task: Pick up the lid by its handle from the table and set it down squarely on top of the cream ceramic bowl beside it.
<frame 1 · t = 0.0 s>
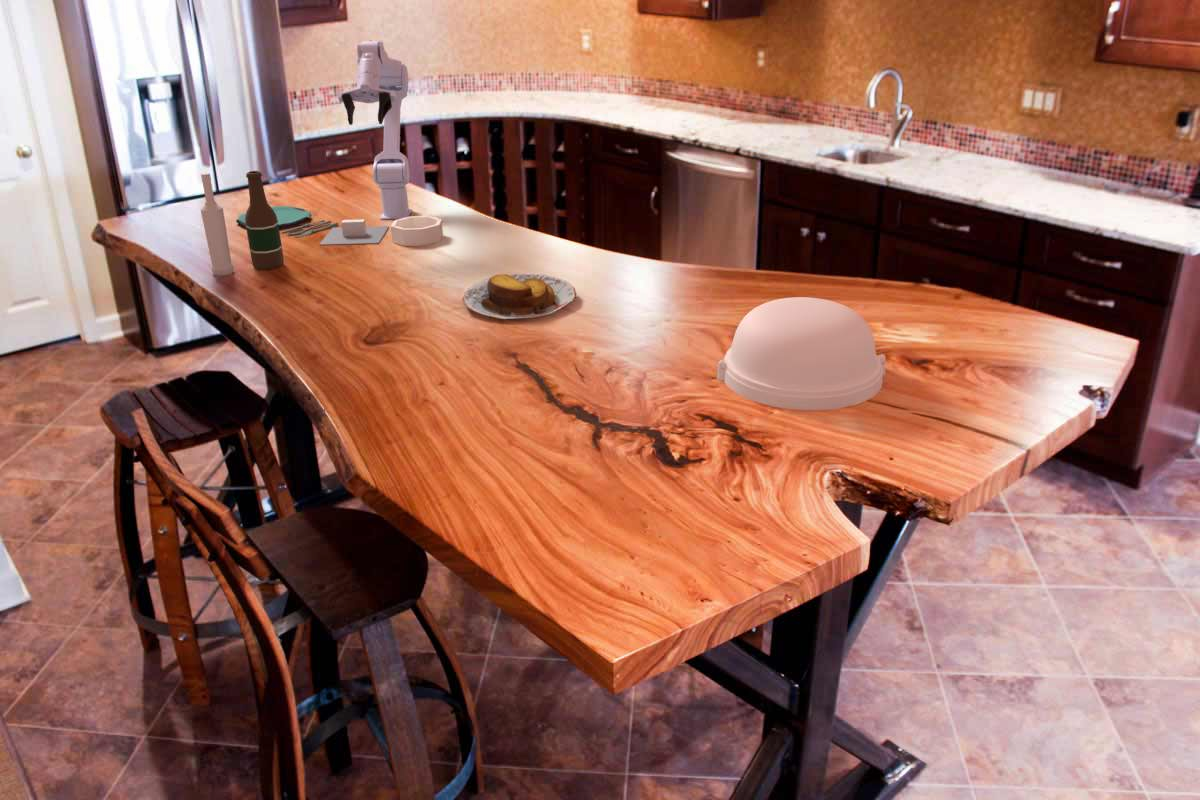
hand: (365, 122, 271), 32 cm above the table, tool tilted 50°, fingers open, 7 cm apart
food on plate: (520, 305, 240), on the table
cutlery set: (285, 226, 304), on the table
dome cover: (801, 377, 200), on the table
beer bottle: (268, 266, 269), on the table
bowl: (418, 238, 288), on the table
lid: (355, 238, 292), on the table
bottle: (223, 273, 264), on the table
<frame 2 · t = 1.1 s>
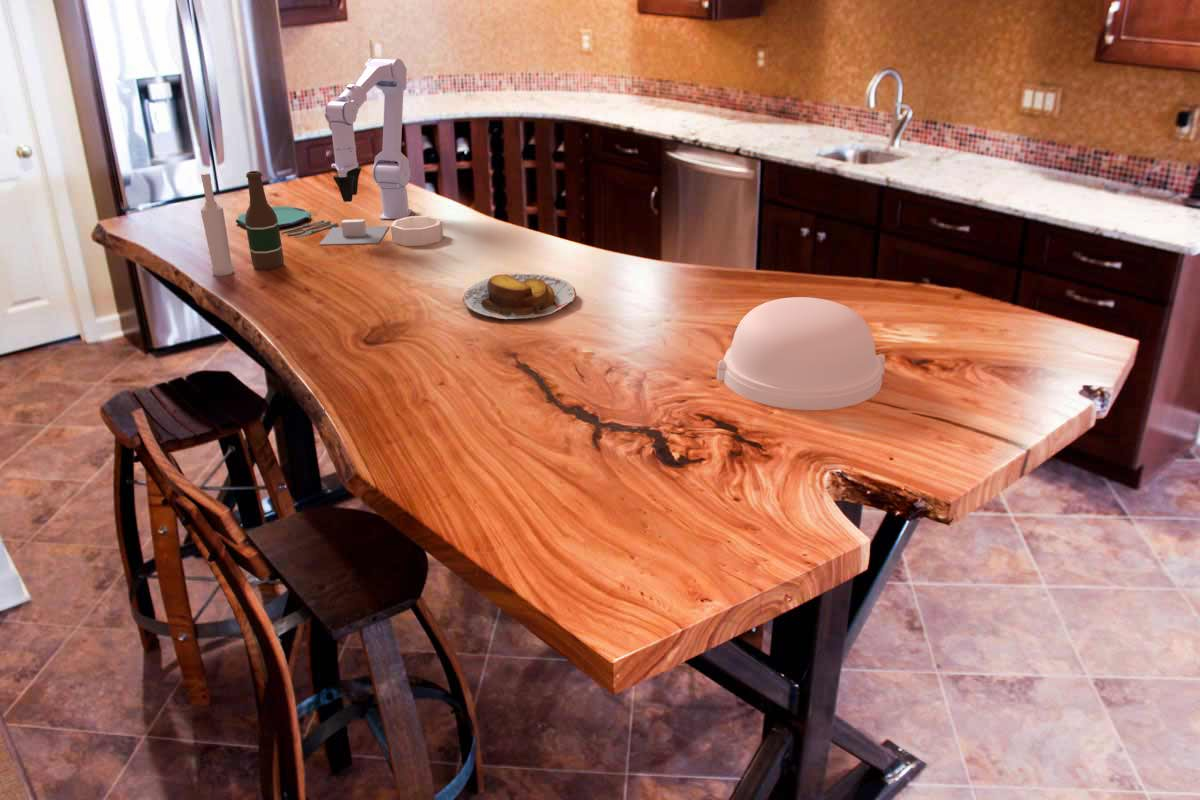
hand: (350, 198, 287), 11 cm above the table, tool pointing down, fingers open, 7 cm apart
nothing on the table moved.
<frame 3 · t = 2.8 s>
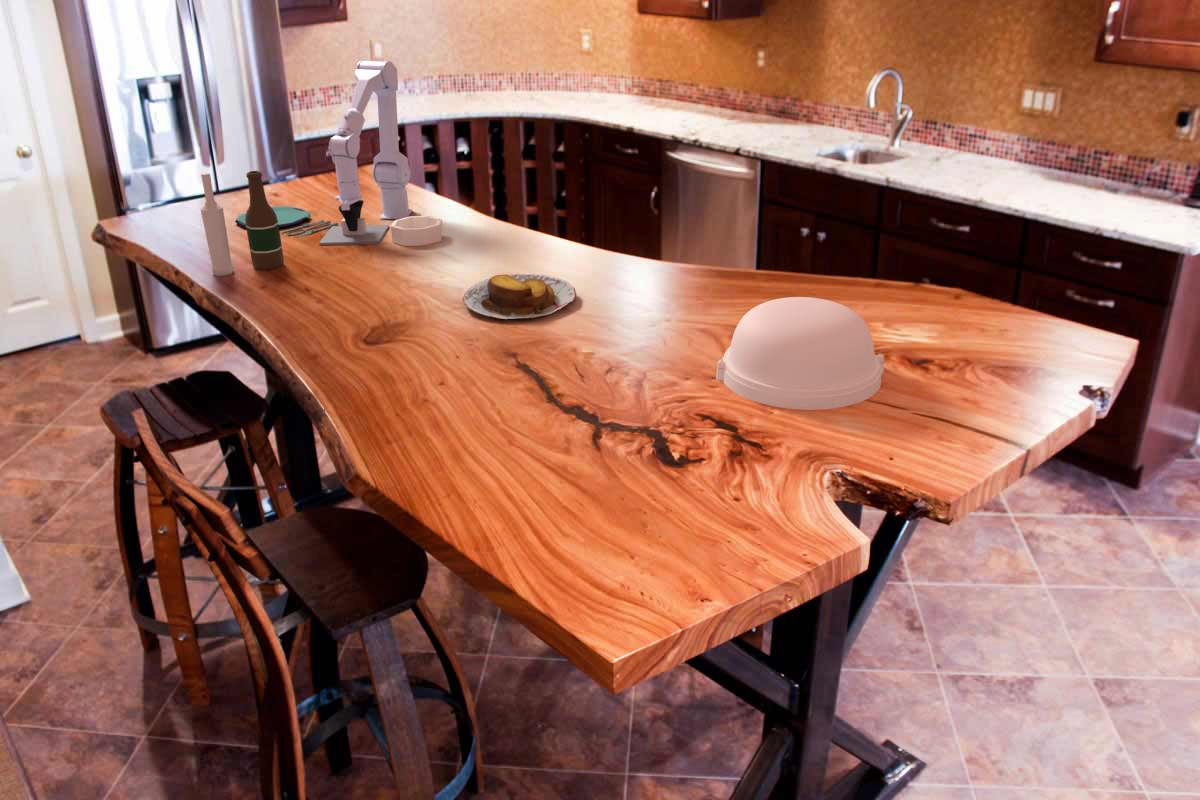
hand: (354, 229, 291), 2 cm above the table, tool pointing down, fingers closed on lid, 2 cm apart
lid: (355, 237, 292), on the table, touching gripper
everything else where it was.
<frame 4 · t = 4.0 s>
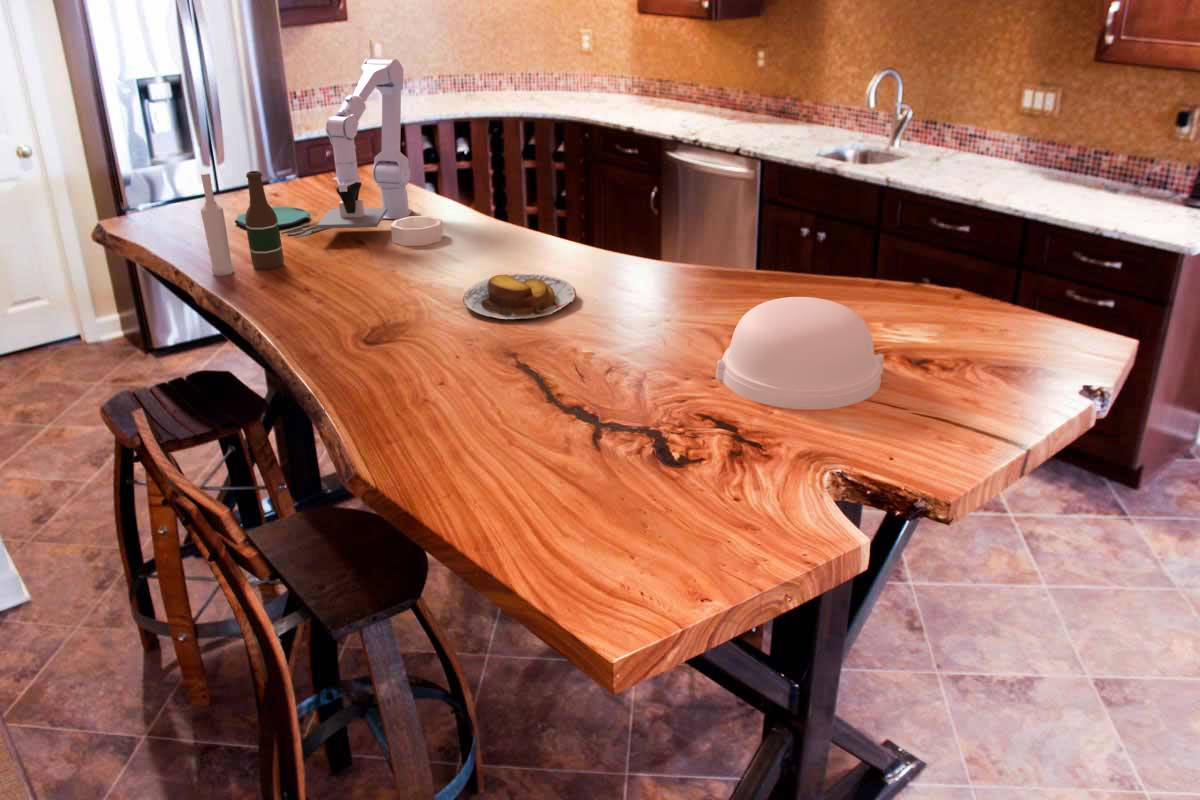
hand: (352, 211, 289), 7 cm above the table, tool pointing down, fingers closed on lid, 2 cm apart
lid: (353, 219, 290), point 5 cm above the table, touching gripper
everything else where it was.
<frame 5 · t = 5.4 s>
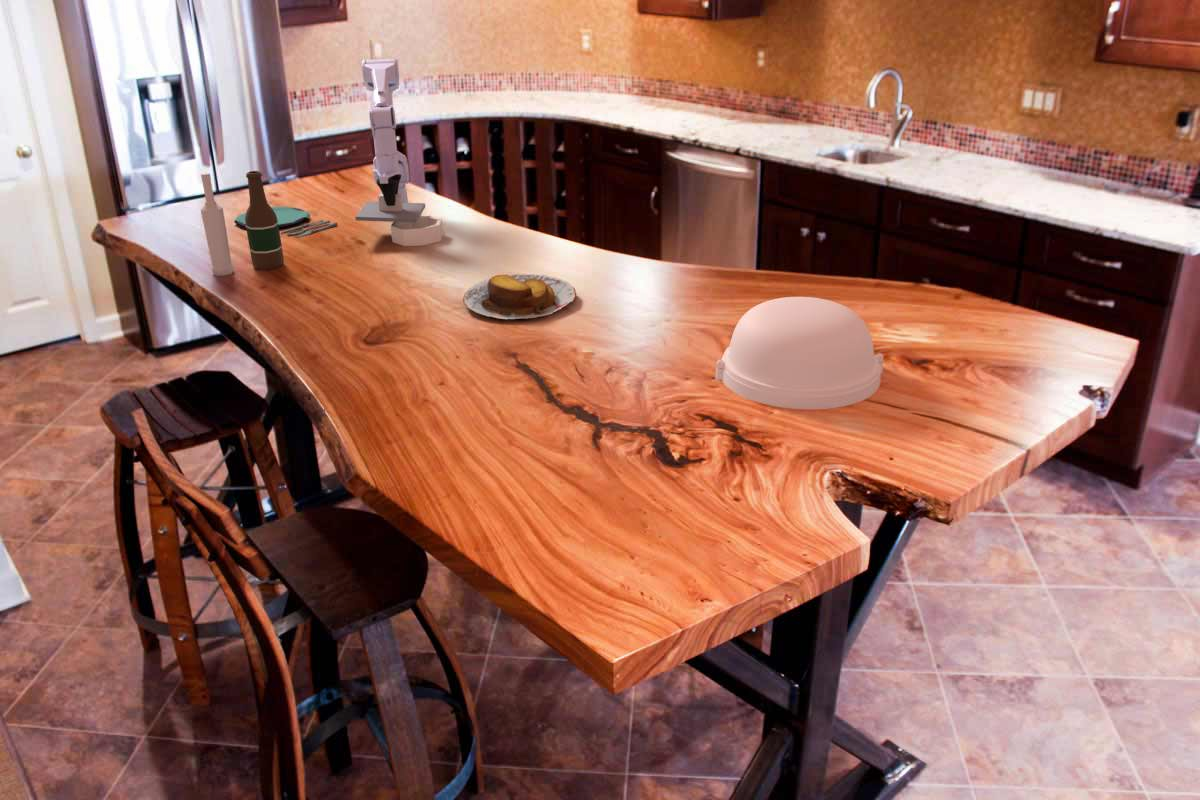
hand: (391, 203, 285), 9 cm above the table, tool pointing down, fingers closed on lid, 2 cm apart
lid: (391, 213, 286), point 7 cm above the table, touching gripper
everything else where it was.
when the fingers open (8 cm above the table, at t = 6.6 s): lid stays where it is, resting on bowl.
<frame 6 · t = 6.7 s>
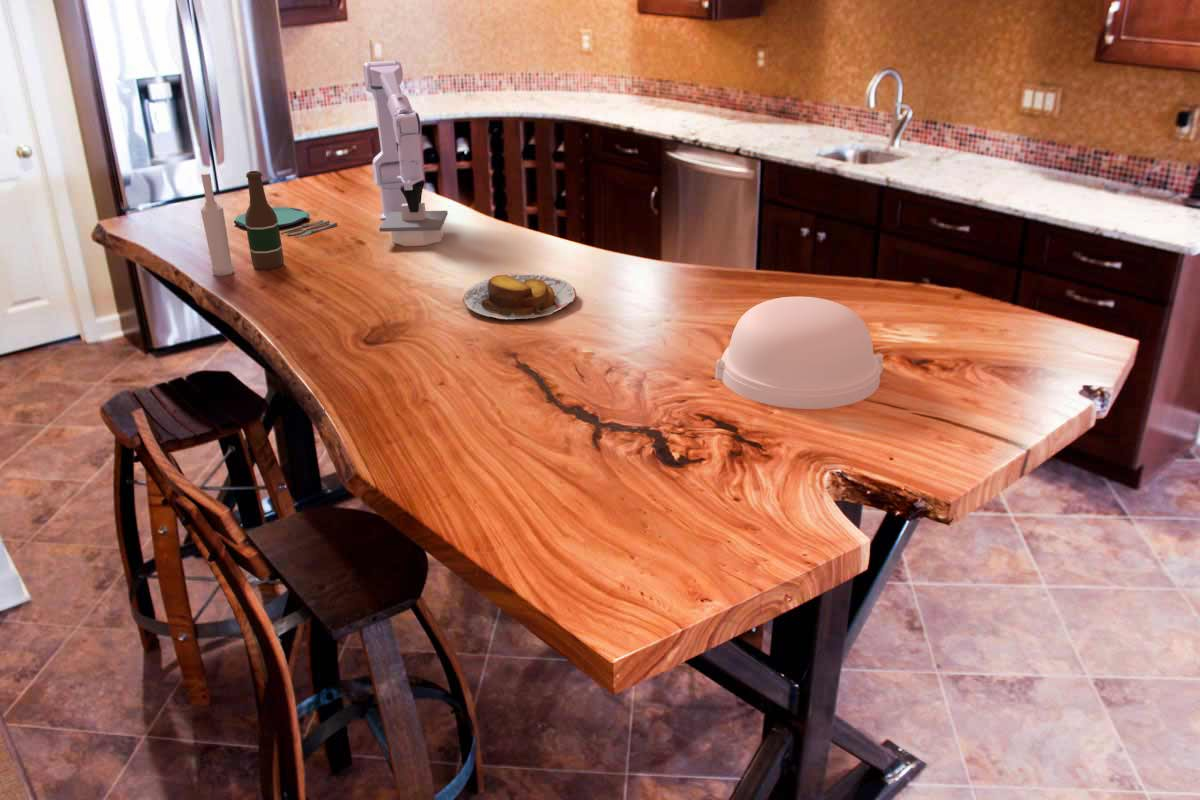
hand: (415, 210, 284), 8 cm above the table, tool pointing down, fingers open, 3 cm apart
lid: (414, 222, 286), point 4 cm above the table, touching bowl
everything else where it was.
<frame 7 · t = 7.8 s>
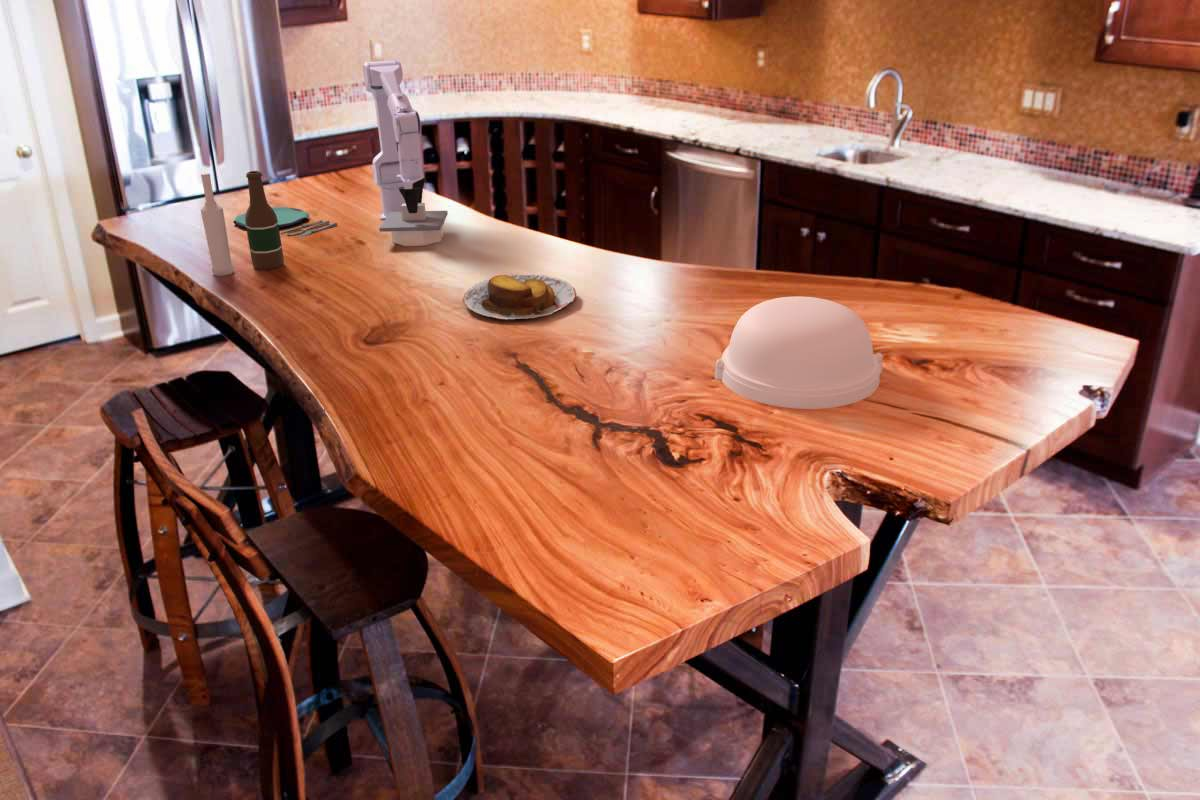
hand: (415, 209, 284), 8 cm above the table, tool pointing down, fingers open, 7 cm apart
nothing on the table moved.
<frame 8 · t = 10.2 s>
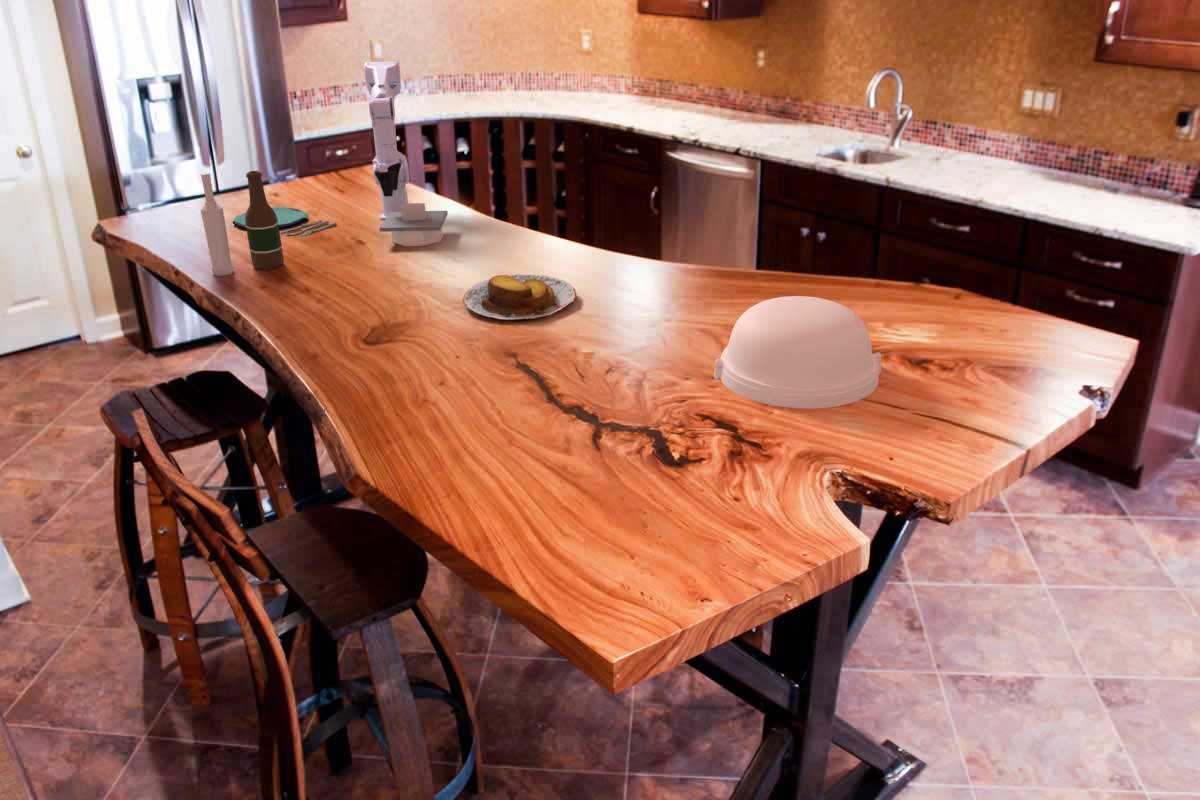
hand: (390, 193, 292), 10 cm above the table, tool pointing down, fingers open, 7 cm apart
nothing on the table moved.
at the end: lid 0.5 cm off-centre on the bowl, point 4.5 cm above the bowl's base; lid tilted 0°; the gripper is holding nothing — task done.
